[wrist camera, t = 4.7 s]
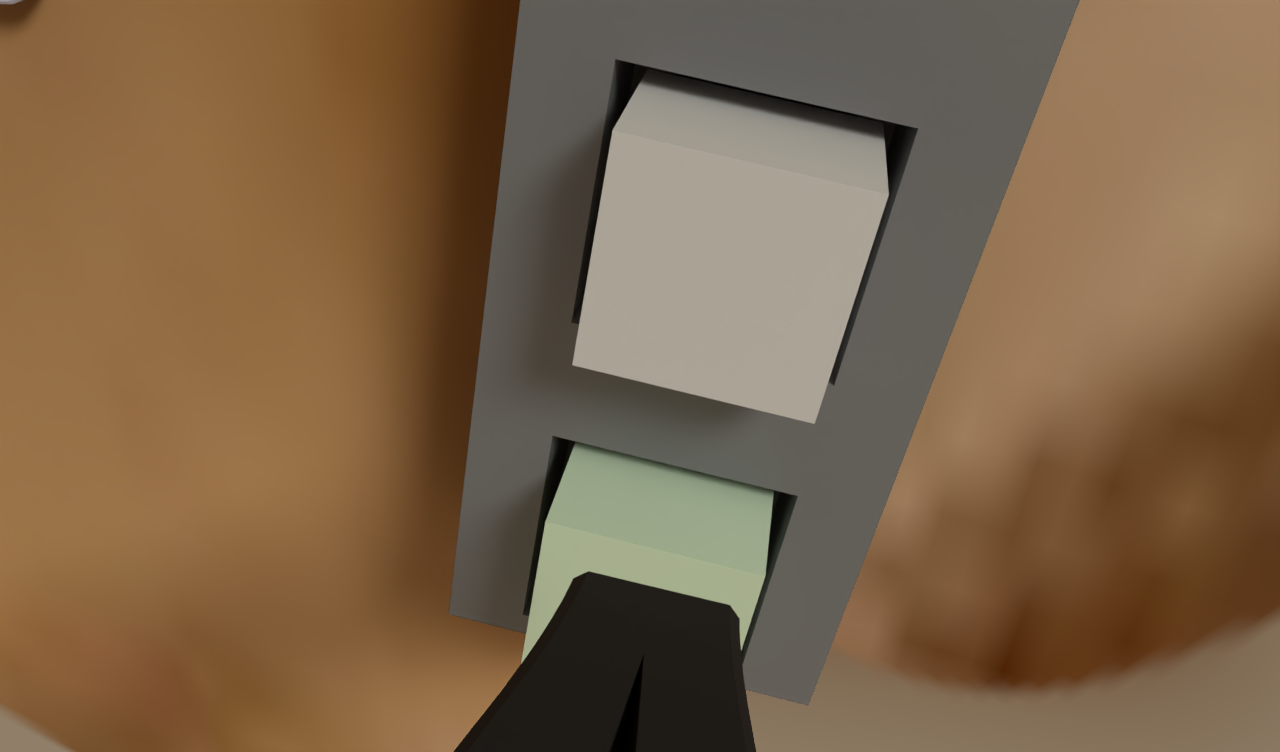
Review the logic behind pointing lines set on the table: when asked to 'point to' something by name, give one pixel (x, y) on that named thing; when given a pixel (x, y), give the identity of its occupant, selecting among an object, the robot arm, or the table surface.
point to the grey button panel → (877, 326)
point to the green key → (652, 533)
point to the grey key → (730, 244)
